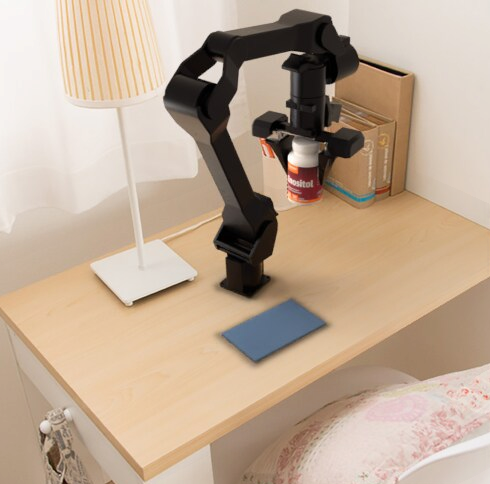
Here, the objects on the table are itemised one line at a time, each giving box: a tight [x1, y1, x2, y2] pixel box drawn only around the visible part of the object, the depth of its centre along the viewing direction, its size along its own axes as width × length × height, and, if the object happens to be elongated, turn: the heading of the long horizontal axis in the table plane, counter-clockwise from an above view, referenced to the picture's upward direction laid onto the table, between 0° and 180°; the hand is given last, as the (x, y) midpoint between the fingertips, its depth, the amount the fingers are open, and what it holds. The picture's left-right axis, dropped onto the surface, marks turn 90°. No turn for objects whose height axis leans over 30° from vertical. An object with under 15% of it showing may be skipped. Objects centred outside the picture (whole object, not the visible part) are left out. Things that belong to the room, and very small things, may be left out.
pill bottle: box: [287, 136, 324, 207], centre depth 128 cm, size 6×6×11 cm
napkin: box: [221, 298, 327, 364], centre depth 116 cm, size 14×8×1 cm, turn 129°
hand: (306, 180), depth 129 cm, fingers closed on pill bottle, 6 cm apart
